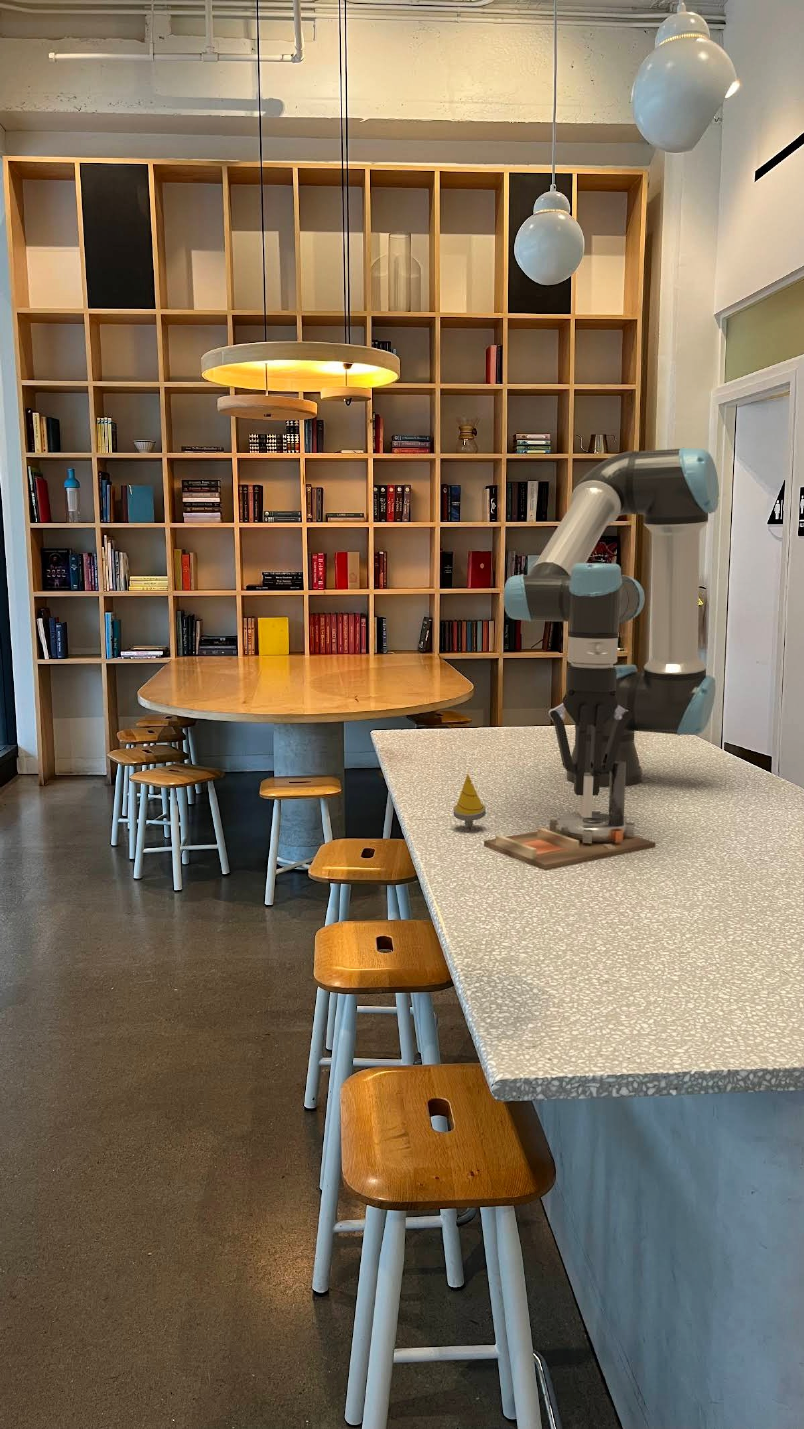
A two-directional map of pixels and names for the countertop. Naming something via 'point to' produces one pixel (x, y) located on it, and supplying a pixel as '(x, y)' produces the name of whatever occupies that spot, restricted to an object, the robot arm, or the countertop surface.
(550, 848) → the brown wooden board
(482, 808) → the drill bit
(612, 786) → the sprocket
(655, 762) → the countertop surface
